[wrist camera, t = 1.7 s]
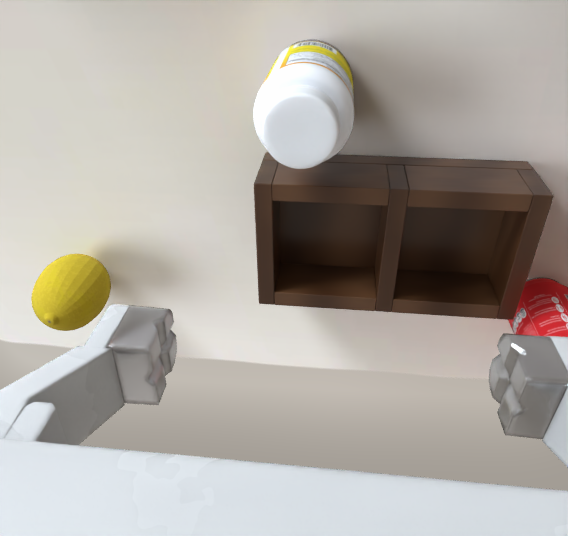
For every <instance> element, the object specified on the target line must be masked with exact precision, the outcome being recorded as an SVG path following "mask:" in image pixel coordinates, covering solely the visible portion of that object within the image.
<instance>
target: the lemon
mask: <svg viewBox="0 0 568 536" xmlns="http://www.w3.org/2000/svg"><path fill="white" fill-rule="evenodd" d="M110 289H111V283H110V277H109V274H108V272H107V270H106V269H105V267H104V266H103V265H102V264H101V263H100V262H99V261H98V260H96V259H94V258H93V257H90V256H88V255H83V254H70V255H66V256H63V257H60V258H58V259H57V260H55V261H54V262H52V263H51V264H49V265H48V266H47V267H46V268H45V269H44V271H43V272H42V273H41V275H40V276H39V278H38V279H37V281H36V283H35V286H34V289H33V293H32V307H33V309H34V312H35V314H36V316H37V317H38V318H39V320H40V321H41V322H43V323H44V324H45V325H47V326H48V327H51V328H53V329H57V330H63V331H69V330H75V329H78V328H80V327H83V326H85V325H86V324H88V323H89V322H90V321H92V320H93V319H94V318H95V317H96V316H97V315H98V314H99V313H100V312H101V311H102V309H103V308H104V306H105V304H106V302H107V300H108V298H109V294H110Z"/></svg>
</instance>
